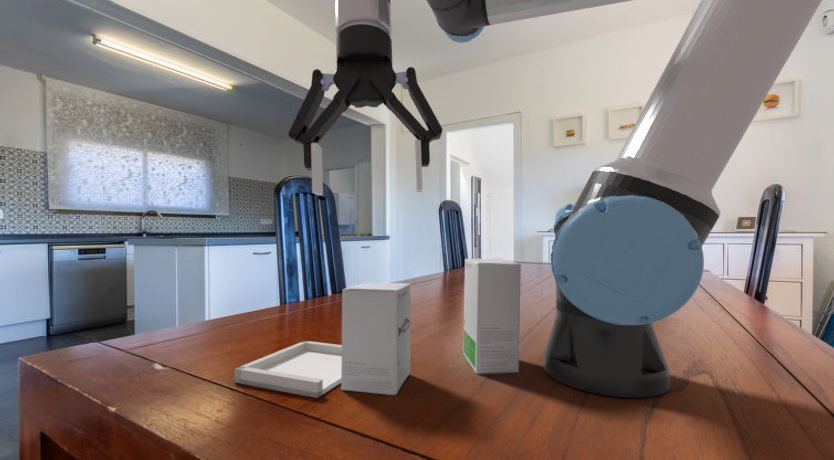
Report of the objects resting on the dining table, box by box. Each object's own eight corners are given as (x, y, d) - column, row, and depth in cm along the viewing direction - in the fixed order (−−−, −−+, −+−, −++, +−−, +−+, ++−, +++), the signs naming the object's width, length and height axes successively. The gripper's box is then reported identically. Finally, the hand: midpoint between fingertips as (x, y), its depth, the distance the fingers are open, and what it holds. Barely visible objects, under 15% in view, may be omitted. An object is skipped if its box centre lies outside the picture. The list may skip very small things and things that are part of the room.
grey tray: (374, 360, 55) (374, 349, 55) (317, 398, 42) (317, 382, 42) (304, 351, 60) (304, 340, 60) (234, 382, 47) (234, 368, 47)
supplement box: (397, 396, 43) (397, 289, 43) (339, 391, 44) (339, 288, 45) (412, 374, 50) (411, 282, 50) (361, 370, 52) (361, 281, 52)
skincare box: (462, 356, 58) (462, 258, 58) (503, 354, 58) (502, 258, 59) (476, 375, 49) (475, 261, 50) (523, 373, 50) (522, 261, 50)
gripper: (451, 50, 53) (457, 193, 52) (281, 54, 53) (284, 198, 52) (458, 18, 46) (465, 184, 45) (260, 22, 45) (263, 191, 44)
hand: (368, 192), depth 48 cm, fingers open, 13 cm apart
